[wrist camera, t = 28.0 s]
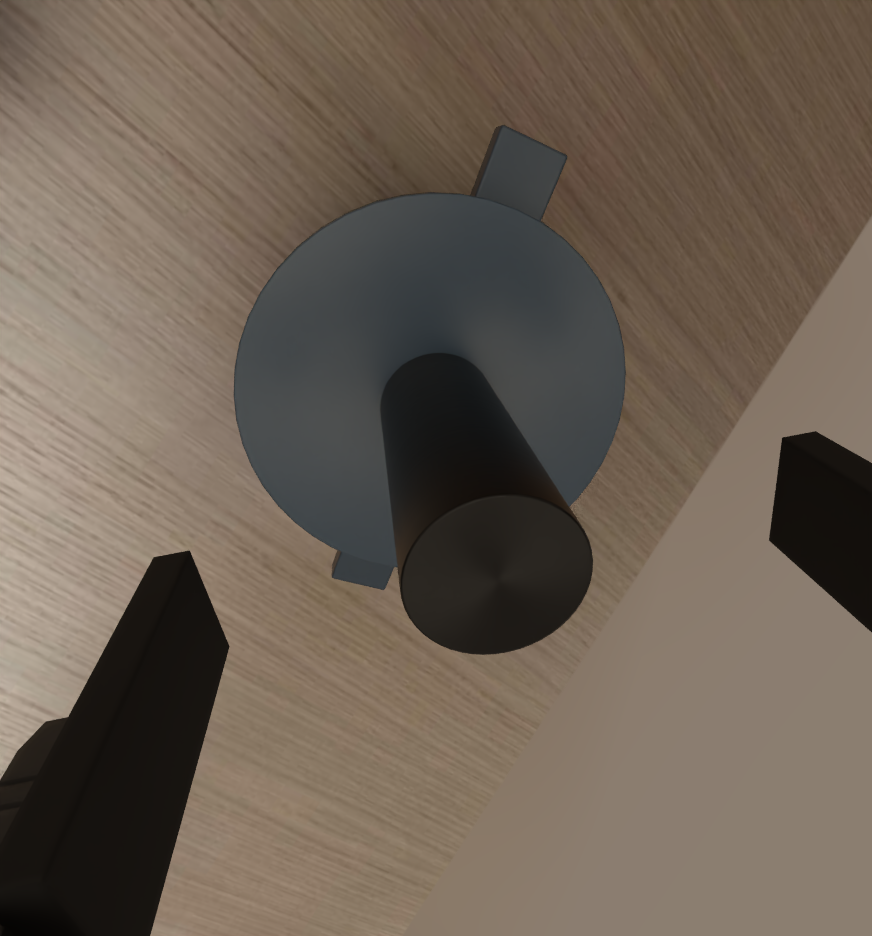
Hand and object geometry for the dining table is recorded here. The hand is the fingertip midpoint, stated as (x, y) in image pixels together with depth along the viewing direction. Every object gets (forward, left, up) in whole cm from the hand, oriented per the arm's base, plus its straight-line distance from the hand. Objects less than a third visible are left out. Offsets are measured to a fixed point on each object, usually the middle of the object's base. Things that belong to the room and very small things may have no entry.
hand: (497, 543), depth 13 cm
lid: (0, 0, -9) cm, 9 cm away
